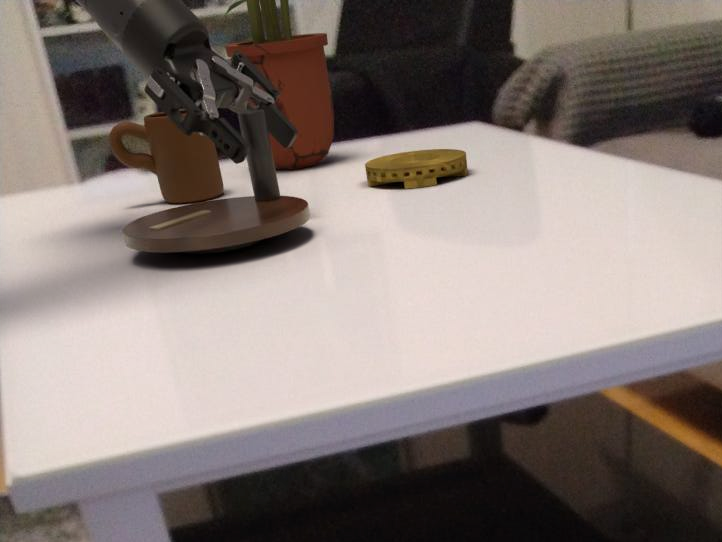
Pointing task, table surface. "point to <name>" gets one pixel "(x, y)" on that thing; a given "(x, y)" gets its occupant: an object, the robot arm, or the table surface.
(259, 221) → the stand with round base
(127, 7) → the robot arm
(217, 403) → the table surface
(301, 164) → the potted plant
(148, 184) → the table surface
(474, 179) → the table surface
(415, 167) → the yellow flat disc
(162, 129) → the mug
